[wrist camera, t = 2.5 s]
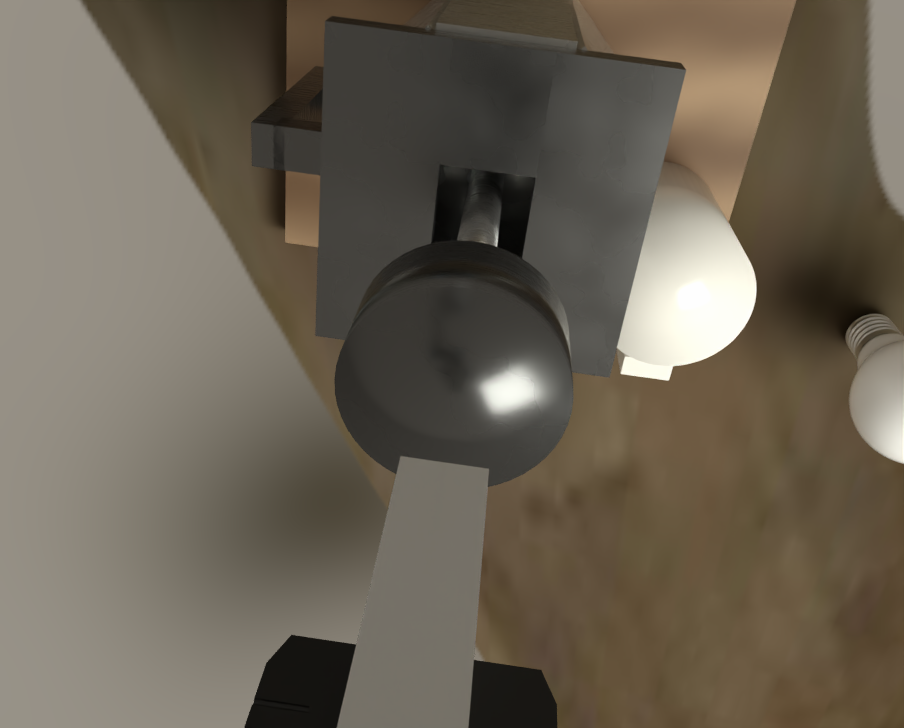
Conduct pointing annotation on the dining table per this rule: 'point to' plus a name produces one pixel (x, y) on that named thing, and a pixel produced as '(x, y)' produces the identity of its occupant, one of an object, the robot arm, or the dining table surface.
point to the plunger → (461, 341)
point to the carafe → (480, 148)
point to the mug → (684, 281)
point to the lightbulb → (878, 384)
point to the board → (627, 33)
